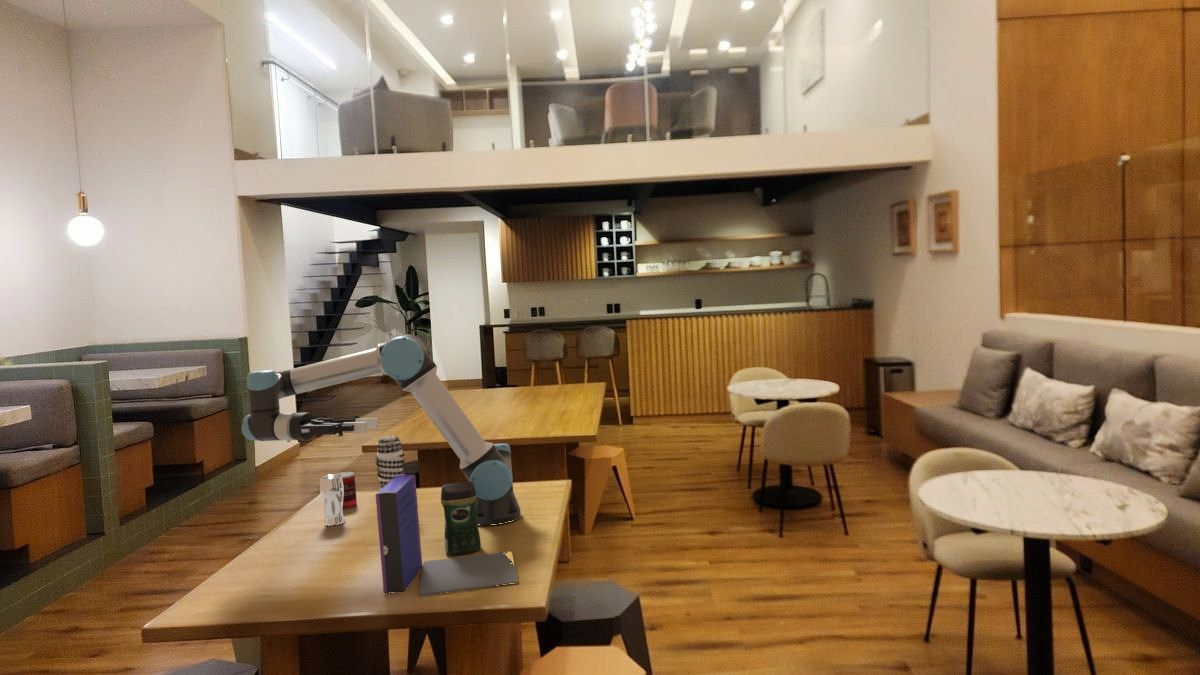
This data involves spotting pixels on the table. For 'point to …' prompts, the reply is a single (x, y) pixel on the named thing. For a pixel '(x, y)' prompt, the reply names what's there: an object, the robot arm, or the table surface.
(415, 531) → the cereal box
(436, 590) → the flat gray object
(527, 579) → the table surface
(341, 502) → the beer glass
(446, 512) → the coffee jar
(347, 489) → the canned food
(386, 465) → the decorative candle
